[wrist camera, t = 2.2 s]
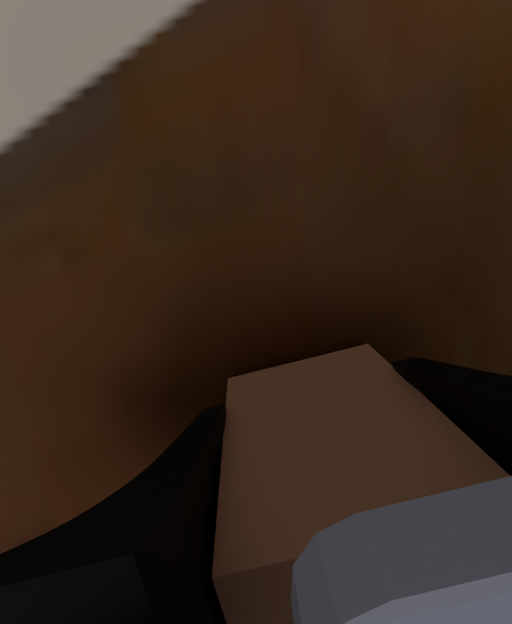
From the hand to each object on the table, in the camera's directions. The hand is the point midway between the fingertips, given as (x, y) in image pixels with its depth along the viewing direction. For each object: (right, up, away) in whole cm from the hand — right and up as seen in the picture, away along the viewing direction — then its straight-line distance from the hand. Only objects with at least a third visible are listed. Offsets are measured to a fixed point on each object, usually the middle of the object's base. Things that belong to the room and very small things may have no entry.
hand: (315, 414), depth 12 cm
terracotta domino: (0, +1, +2) cm, 2 cm away
